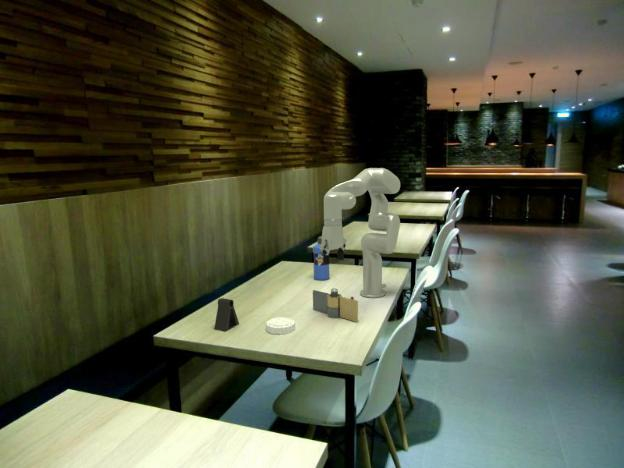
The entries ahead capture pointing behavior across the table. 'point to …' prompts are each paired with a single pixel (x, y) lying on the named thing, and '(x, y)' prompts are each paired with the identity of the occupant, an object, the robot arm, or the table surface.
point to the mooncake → (280, 325)
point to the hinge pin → (334, 292)
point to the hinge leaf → (344, 306)
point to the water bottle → (320, 263)
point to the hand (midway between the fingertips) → (333, 261)
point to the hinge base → (324, 305)
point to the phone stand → (226, 315)
